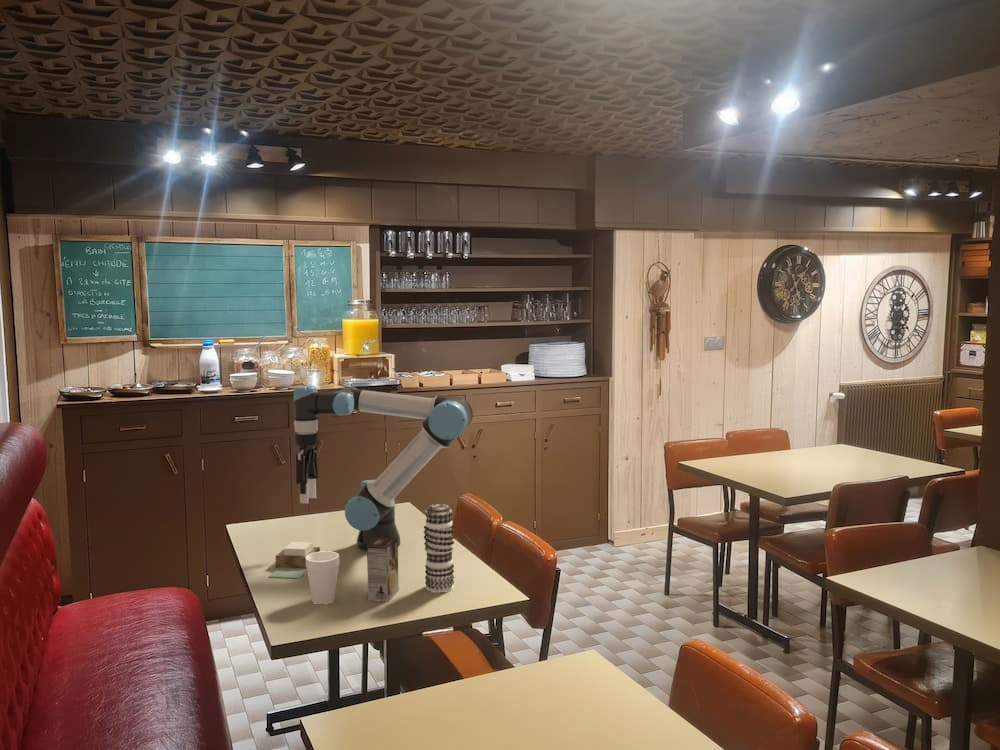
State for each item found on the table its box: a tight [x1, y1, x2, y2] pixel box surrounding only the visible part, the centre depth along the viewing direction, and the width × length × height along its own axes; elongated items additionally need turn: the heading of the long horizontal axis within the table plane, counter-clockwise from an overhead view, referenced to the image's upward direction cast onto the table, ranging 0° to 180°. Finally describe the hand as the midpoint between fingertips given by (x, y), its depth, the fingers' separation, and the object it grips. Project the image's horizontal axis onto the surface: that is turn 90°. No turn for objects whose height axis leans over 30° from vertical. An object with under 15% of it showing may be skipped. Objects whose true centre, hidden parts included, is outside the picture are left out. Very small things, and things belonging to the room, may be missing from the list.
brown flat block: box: [275, 546, 321, 569], centre depth 251 cm, size 11×10×4 cm
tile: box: [283, 541, 314, 556], centre depth 250 cm, size 7×7×2 cm
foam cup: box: [306, 550, 340, 605], centre depth 220 cm, size 10×9×13 cm
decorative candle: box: [423, 503, 456, 594], centre depth 229 cm, size 9×9×25 cm
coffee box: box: [366, 537, 400, 602], centre depth 223 cm, size 9×6×16 cm
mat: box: [268, 567, 307, 579], centre depth 242 cm, size 10×8×1 cm
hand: (308, 500), depth 258 cm, fingers open, 6 cm apart
